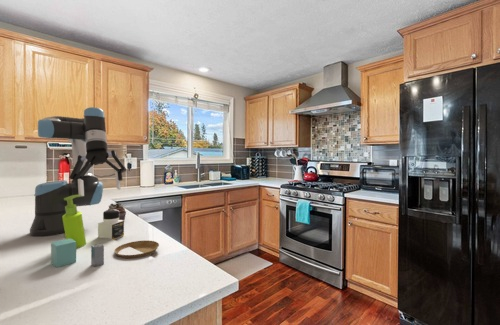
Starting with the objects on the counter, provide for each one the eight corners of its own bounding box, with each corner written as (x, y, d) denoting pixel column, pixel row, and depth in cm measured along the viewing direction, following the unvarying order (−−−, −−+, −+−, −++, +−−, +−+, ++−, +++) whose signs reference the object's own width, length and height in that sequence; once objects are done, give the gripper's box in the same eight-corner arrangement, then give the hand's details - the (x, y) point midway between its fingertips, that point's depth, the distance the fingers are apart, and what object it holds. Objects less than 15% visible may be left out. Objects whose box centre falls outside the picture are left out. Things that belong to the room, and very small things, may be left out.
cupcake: (129, 221, 134) (129, 203, 134) (111, 225, 126) (112, 205, 126) (120, 218, 139) (120, 201, 139) (102, 222, 131) (102, 203, 131)
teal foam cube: (51, 263, 78) (51, 242, 78) (70, 257, 82) (70, 238, 82) (56, 267, 75) (56, 246, 75) (76, 261, 79) (76, 241, 79)
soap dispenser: (92, 242, 97) (85, 194, 92) (74, 251, 90) (66, 200, 86) (81, 239, 98) (74, 192, 94) (63, 248, 92) (55, 198, 88)
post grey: (91, 267, 77) (91, 245, 77) (100, 264, 79) (100, 243, 79) (94, 270, 75) (94, 247, 75) (103, 267, 77) (103, 245, 77)
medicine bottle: (112, 241, 102) (112, 212, 102) (97, 239, 103) (97, 211, 103) (124, 235, 109) (124, 209, 109) (110, 234, 110) (110, 208, 110)
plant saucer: (113, 266, 79) (113, 258, 79) (115, 250, 92) (115, 243, 92) (161, 257, 86) (161, 250, 86) (156, 244, 99) (156, 238, 99)
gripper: (57, 144, 96) (59, 197, 90) (125, 134, 101) (130, 184, 96) (68, 150, 103) (70, 200, 98) (131, 141, 108) (136, 187, 103)
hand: (100, 192), depth 97 cm, fingers open, 13 cm apart
